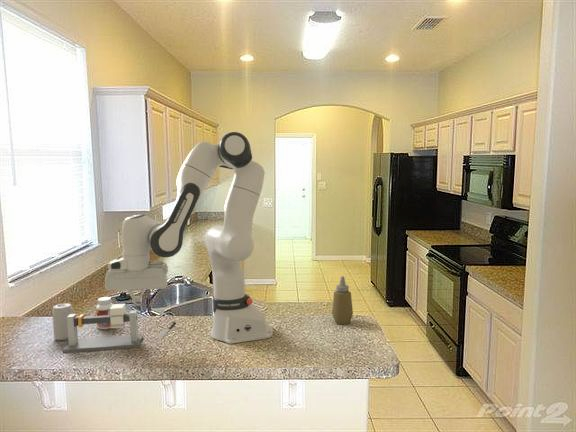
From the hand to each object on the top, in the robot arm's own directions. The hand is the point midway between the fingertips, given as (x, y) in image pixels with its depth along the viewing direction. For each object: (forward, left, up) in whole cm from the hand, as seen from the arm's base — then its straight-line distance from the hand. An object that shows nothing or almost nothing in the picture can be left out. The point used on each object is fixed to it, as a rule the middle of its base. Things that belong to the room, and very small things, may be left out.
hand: (137, 301), depth 150 cm
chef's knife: (-7, -8, -15) cm, 19 cm away
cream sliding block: (+6, 0, -8) cm, 10 cm away
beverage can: (+27, -9, -15) cm, 33 cm away
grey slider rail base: (+11, 0, -15) cm, 19 cm away
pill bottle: (+15, -18, -15) cm, 28 cm away
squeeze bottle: (-75, -6, -15) cm, 76 cm away
